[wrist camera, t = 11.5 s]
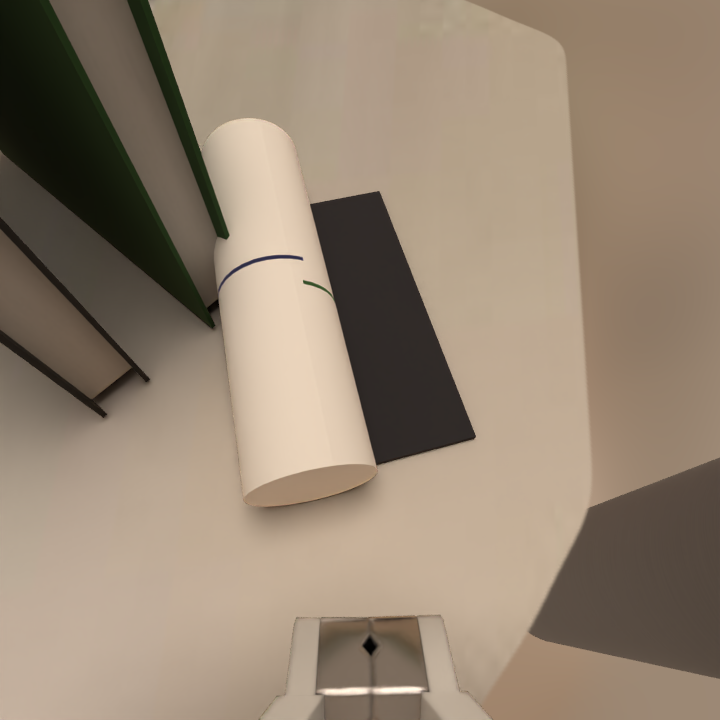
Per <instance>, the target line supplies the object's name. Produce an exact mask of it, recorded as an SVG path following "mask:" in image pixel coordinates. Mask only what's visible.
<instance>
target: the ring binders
mask: <svg viewBox="0 0 720 720" xmlns="http://www.w3.org/2000/svg"><path fill="white" fill-rule="evenodd" d="M0 150H1V151H2V153H3V154H4V155H5V156H6V157H8V158H9V159H10V160H11V161H12V162H14V163H15V164H16V165H17V166H18V167H20V168H21V169H22V170H23V171H24V172H26V173H27V174H28V175H29V176H30V177H32V178H33V179H34V180H35V181H36V182H38V183H39V184H40V185H41V186H42V187H44V188H45V189H46V190H47V191H48V192H50V193H51V194H52V195H53V196H54V197H56V198H57V199H58V200H59V201H60V202H62V203H63V204H64V205H65V206H66V207H68V208H69V209H70V210H71V211H72V212H74V213H75V214H76V215H77V216H78V217H80V218H81V219H82V220H83V221H84V222H86V223H87V224H88V225H89V226H90V227H92V228H93V229H94V230H95V231H96V232H98V233H99V234H100V235H101V236H102V237H104V238H105V239H106V240H107V241H108V242H110V243H111V244H112V245H113V246H114V247H116V248H117V249H118V250H119V251H120V252H122V253H123V254H124V255H125V256H126V257H128V258H129V259H130V260H131V261H132V262H134V263H135V264H136V265H137V266H138V267H140V268H141V269H142V270H143V271H144V272H146V273H147V274H148V275H149V276H150V277H152V278H153V279H154V280H155V281H156V282H158V283H159V284H160V285H161V286H162V287H164V288H165V289H166V290H167V291H168V292H170V293H171V294H172V295H173V296H174V297H176V298H177V299H178V300H179V301H180V302H181V303H183V304H184V305H185V306H186V307H187V308H189V309H190V310H191V311H192V312H193V313H195V314H196V315H197V316H198V317H199V318H201V319H202V320H203V321H204V322H205V323H207V324H208V325H209V326H210V327H211V328H213V327H214V326H215V324H214V322H213V320H212V318H211V316H210V314H209V312H208V310H207V307H208V306H210V305H211V304H212V303H213V302H215V301H216V300H217V299H218V292H217V284H216V276H215V268H214V248H215V243H216V240H217V237H220V238H223V239H226V240H227V239H228V237H229V236H230V235H229V232H228V229H227V226H226V223H225V220H224V217H223V215H222V212H221V209H220V206H219V203H218V200H217V197H216V194H215V192H214V189H213V186H212V183H211V180H210V177H209V174H208V171H207V169H206V166H205V163H204V160H203V157H202V154H201V151H200V148H199V146H198V143H197V140H196V137H195V134H194V131H193V128H192V126H191V123H190V120H189V117H188V114H187V111H186V108H185V105H184V103H183V100H182V97H181V94H180V91H179V88H178V85H177V82H176V80H175V77H174V74H173V71H172V68H171V65H170V62H169V59H168V57H167V54H166V51H165V48H164V45H163V42H162V39H161V36H160V34H159V31H158V28H157V25H156V22H155V19H154V16H153V13H152V11H151V8H150V5H149V2H148V0H0ZM0 342H1V343H2V344H4V345H5V346H6V347H8V348H9V349H10V350H12V351H13V352H14V353H16V354H17V355H19V356H20V357H21V358H23V359H24V360H25V361H27V362H28V363H29V364H31V365H32V366H34V367H35V368H36V369H38V370H39V371H40V372H42V373H43V374H44V375H46V376H47V377H49V378H50V379H51V380H53V381H54V382H55V383H57V384H58V385H59V386H61V387H62V388H64V389H65V390H66V391H68V392H69V393H70V394H72V395H73V396H74V397H76V398H77V399H79V400H80V401H81V402H83V403H84V404H85V405H87V406H88V407H89V408H91V409H92V410H94V411H95V412H96V413H98V414H99V415H100V416H102V417H103V418H104V417H105V416H106V415H107V414H106V413H105V412H104V411H103V410H102V409H101V408H100V407H99V406H98V405H97V404H96V402H95V401H94V400H93V398H94V397H95V396H97V395H98V394H99V393H100V392H102V391H103V390H104V389H106V388H107V387H108V386H109V385H111V384H112V383H113V382H114V381H116V380H117V379H118V378H119V377H121V376H122V375H123V374H124V373H126V372H127V371H128V370H129V369H131V368H133V369H134V370H135V371H136V372H137V373H138V374H139V375H140V376H141V377H142V378H143V379H144V380H145V381H146V382H147V381H149V380H150V379H149V378H148V377H147V376H146V375H145V373H144V372H143V371H142V370H141V369H140V368H139V367H138V366H137V365H136V364H135V363H134V362H133V360H132V359H131V358H130V357H129V356H128V355H127V354H126V353H125V352H124V351H123V350H122V349H121V348H120V346H119V345H118V344H117V343H116V342H115V341H114V340H113V339H112V338H111V337H110V336H109V335H108V333H107V332H106V331H105V330H104V329H103V328H102V327H101V326H100V325H99V324H98V323H97V322H96V320H95V319H94V318H93V317H92V316H91V315H90V314H89V313H88V312H87V311H86V310H85V309H84V307H83V306H82V305H81V304H80V303H79V302H78V301H77V300H76V299H75V298H74V297H73V296H72V294H71V293H70V292H69V291H68V290H67V289H66V288H65V287H64V286H63V285H62V284H61V283H60V282H59V280H58V279H57V278H56V277H55V276H54V275H53V274H52V273H51V272H50V271H49V270H48V269H47V267H46V266H45V265H44V264H43V263H42V262H41V261H40V260H39V259H38V258H37V257H36V256H35V254H34V253H33V252H32V251H31V250H30V249H29V248H28V247H27V246H26V245H25V244H24V243H23V241H22V240H21V239H20V238H19V237H18V236H17V235H16V234H15V233H14V232H13V231H12V230H11V229H10V227H9V226H8V225H7V224H6V223H5V222H4V221H3V220H2V219H1V218H0Z"/></svg>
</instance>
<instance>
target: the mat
mask: <svg viewBox="0 0 720 720" xmlns="http://www.w3.org/2000/svg"><path fill="white" fill-rule="evenodd" d="M310 207H311V211H312V214H313V218H314V222H315V226H316V230H317V234H318V238H319V242H320V246H321V250H322V254H323V258H324V262H325V265H326V269H327V273H328V277H329V281H330V285H331V289H332V293H333V297H334V301H335V304H336V308H337V312H338V316H339V320H340V324H341V328H342V332H343V336H344V340H345V344H346V348H347V352H348V356H349V360H350V364H351V368H352V372H353V375H354V379H355V383H356V387H357V391H358V395H359V399H360V403H361V407H362V411H363V415H364V419H365V423H366V427H367V431H368V435H369V439H370V443H371V447H372V451H373V454H374V458H375V462H376V465H377V464H381V463H385V462H388V461H392V460H396V459H400V458H403V457H407V456H411V455H415V454H418V453H422V452H426V451H429V450H433V449H437V448H441V447H444V446H448V445H452V444H456V443H459V442H463V441H467V440H471V439H474V438H475V437H476V435H475V433H474V430H473V428H472V425H471V423H470V420H469V418H468V415H467V413H466V410H465V408H464V405H463V402H462V400H461V397H460V395H459V392H458V390H457V387H456V385H455V382H454V380H453V377H452V374H451V372H450V369H449V367H448V364H447V362H446V359H445V357H444V354H443V352H442V349H441V347H440V344H439V341H438V339H437V336H436V334H435V331H434V329H433V326H432V324H431V321H430V319H429V316H428V314H427V311H426V308H425V306H424V303H423V301H422V298H421V296H420V293H419V291H418V288H417V286H416V283H415V281H414V278H413V275H412V273H411V270H410V268H409V265H408V263H407V260H406V258H405V255H404V253H403V250H402V248H401V245H400V242H399V240H398V237H397V235H396V232H395V230H394V227H393V225H392V222H391V220H390V217H389V214H388V212H387V209H386V207H385V204H384V202H383V199H382V197H381V194H380V192H379V191H377V192H372V193H367V194H362V195H356V196H351V197H346V198H340V199H335V200H330V201H324V202H319V203H314V204H310Z"/></svg>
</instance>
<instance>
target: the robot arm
mask: <svg viewBox="0 0 720 720" xmlns="http://www.w3.org/2000/svg"><path fill="white" fill-rule="evenodd" d="M259 720H493V719H492V718H491V717H490V716H489V714H488V713H487V712H486V711H485V710H484V709H483V708H482V707H481V706H480V705H479V703H478V702H477V701H476V700H475V699H474V698H473V697H472V696H471V695H470V693H469V692H468V691H460V689H459V685H458V681H457V677H456V672H455V668H454V664H453V659H452V655H451V651H450V646H449V642H448V638H447V633H446V629H445V625H444V620H443V618H442V617H441V615H419V616H415V615H413V616H382V617H368V618H356V617H321V618H296V620H295V623H294V627H293V635H292V643H291V651H290V658H289V666H288V674H287V681H286V689H285V696H277V697H276V698H275V699H274V700H273V702H272V703H271V704H270V706H269V707H268V708H267V709H266V711H265V712H264V713H263V715H262V716H261V717H260V718H259Z"/></svg>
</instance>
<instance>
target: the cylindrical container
mask: <svg viewBox="0 0 720 720" xmlns="http://www.w3.org/2000/svg"><path fill="white" fill-rule="evenodd" d="M201 154H202V157H203V160H204V163H205V166H206V169H207V171H208V174H209V177H210V180H211V183H212V186H213V189H214V192H215V194H216V197H217V200H218V203H219V206H220V209H221V212H222V215H223V217H224V220H225V223H226V226H227V229H228V232H229V235H230V236H229V237H228V239H227V240H226V239H223V238H220V237H217V240H216V243H215V248H214V268H215V276H216V284H217V292H218V298H219V299H218V300H219V308H220V316H221V324H222V332H223V340H224V348H225V356H226V364H227V372H228V380H229V388H230V396H231V404H232V412H233V420H234V428H235V436H236V443H237V451H238V459H239V467H240V475H241V483H242V491H243V499H244V502H245V503H247V504H249V505H253V506H263V507H267V506H282V505H290V504H297V503H302V502H307V501H312V500H317V499H321V498H324V497H328V496H332V495H335V494H338V493H341V492H344V491H347V490H350V489H352V488H355V487H357V486H359V485H361V484H363V483H365V482H367V481H369V480H370V479H372V478H373V477H374V476H375V475H376V474H377V472H378V470H377V466H376V462H375V458H374V454H373V451H372V447H371V443H370V439H369V435H368V431H367V427H366V423H365V419H364V415H363V411H362V407H361V403H360V399H359V395H358V391H357V387H356V383H355V379H354V375H353V372H352V368H351V364H350V360H349V356H348V352H347V348H346V344H345V340H344V336H343V332H342V328H341V324H340V320H339V316H338V312H337V308H336V304H335V301H334V297H333V293H332V289H331V285H330V281H329V277H328V273H327V269H326V265H325V262H324V258H323V254H322V250H321V246H320V242H319V238H318V234H317V230H316V226H315V222H314V218H313V214H312V211H311V207H310V203H309V199H308V195H307V191H306V187H305V183H304V179H303V175H302V171H301V167H300V163H299V160H298V156H297V152H296V148H295V145H294V143H293V141H292V139H291V138H290V137H289V136H288V134H287V133H286V132H285V131H284V130H282V129H281V128H280V127H278V126H277V125H275V124H273V123H270V122H268V121H265V120H261V119H254V118H244V119H237V120H233V121H229V122H227V123H225V124H223V125H221V126H219V127H218V128H217V129H215V130H214V131H213V132H212V133H211V134H210V135H209V136H208V138H207V139H206V141H205V143H204V145H203V148H202V152H201Z"/></svg>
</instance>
